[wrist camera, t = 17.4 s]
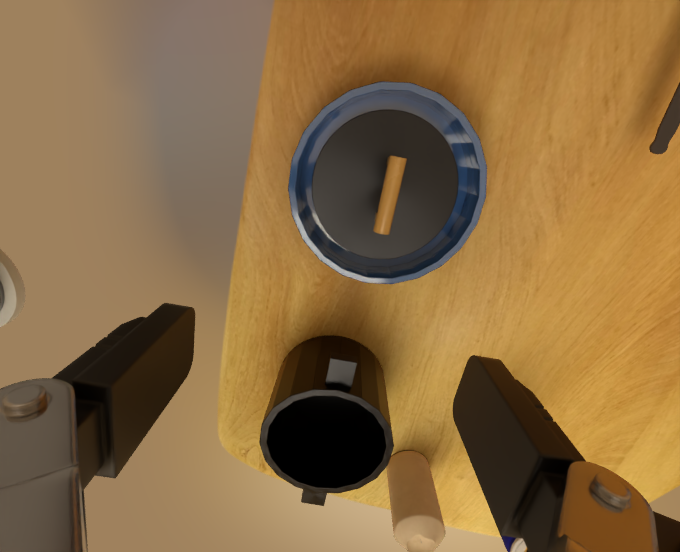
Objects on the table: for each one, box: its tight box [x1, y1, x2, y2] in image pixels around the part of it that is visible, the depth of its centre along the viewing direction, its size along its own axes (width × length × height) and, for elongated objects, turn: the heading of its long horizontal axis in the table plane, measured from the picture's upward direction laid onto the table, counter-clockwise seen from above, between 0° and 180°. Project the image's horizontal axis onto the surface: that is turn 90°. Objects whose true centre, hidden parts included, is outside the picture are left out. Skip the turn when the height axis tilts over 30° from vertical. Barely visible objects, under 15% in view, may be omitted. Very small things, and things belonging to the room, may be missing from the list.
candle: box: [387, 451, 445, 552], centre depth 41 cm, size 6×6×10 cm
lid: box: [312, 109, 459, 259], centre depth 30 cm, size 13×13×6 cm
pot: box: [260, 336, 394, 506], centre depth 37 cm, size 12×18×10 cm
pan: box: [288, 82, 487, 284], centre depth 32 cm, size 17×17×4 cm
